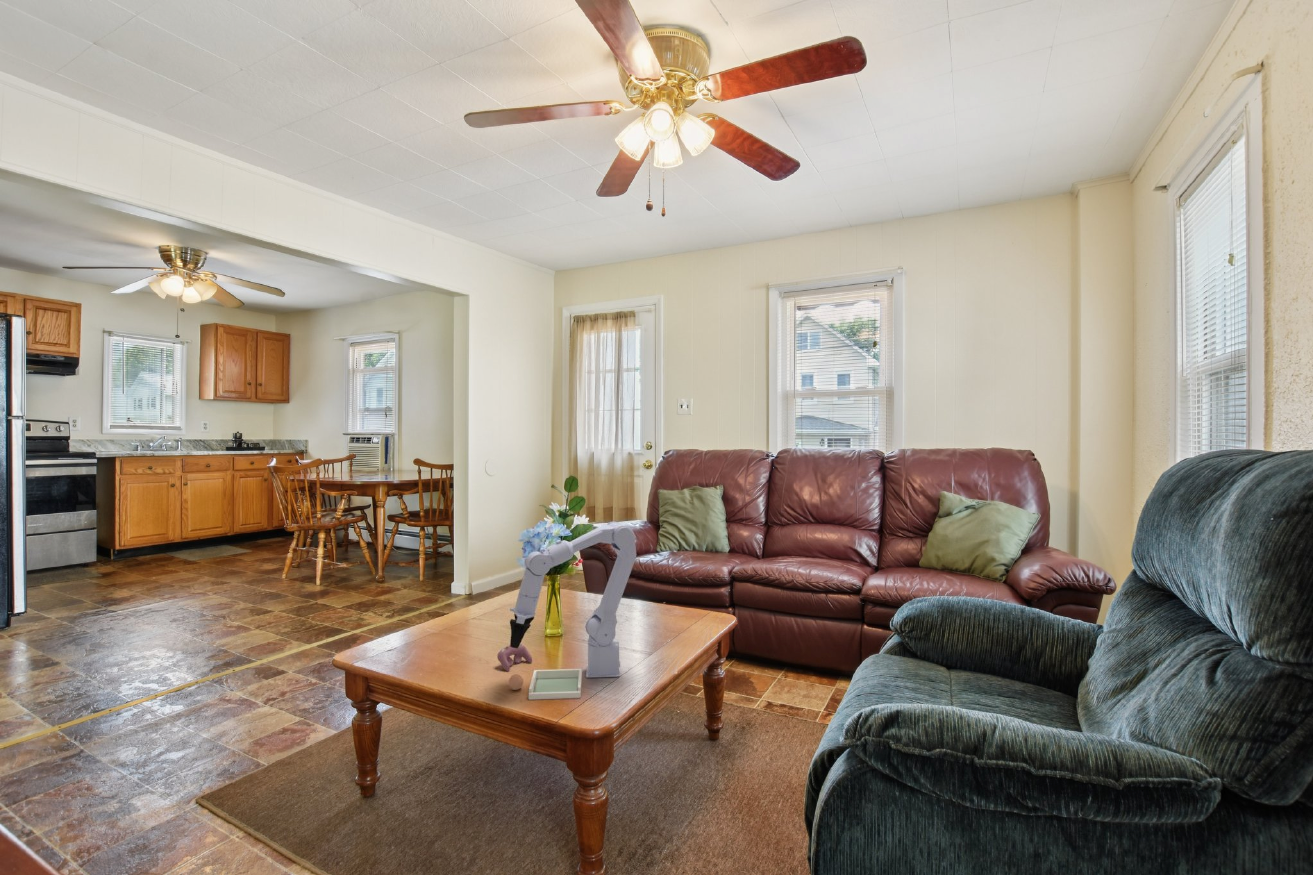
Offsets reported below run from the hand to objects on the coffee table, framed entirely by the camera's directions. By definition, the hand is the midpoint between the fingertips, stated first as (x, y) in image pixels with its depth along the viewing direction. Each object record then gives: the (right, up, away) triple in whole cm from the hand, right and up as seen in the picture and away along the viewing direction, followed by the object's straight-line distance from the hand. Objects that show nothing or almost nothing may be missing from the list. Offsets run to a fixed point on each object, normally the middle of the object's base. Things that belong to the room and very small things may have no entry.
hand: (515, 643), depth 168 cm
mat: (+11, -12, 0) cm, 17 cm away
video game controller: (-4, -12, +16) cm, 20 cm away
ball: (0, -12, -2) cm, 12 cm away
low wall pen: (+11, -12, 0) cm, 17 cm away
